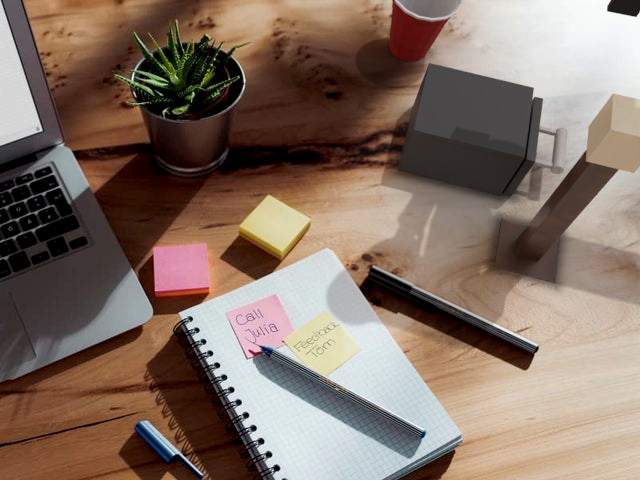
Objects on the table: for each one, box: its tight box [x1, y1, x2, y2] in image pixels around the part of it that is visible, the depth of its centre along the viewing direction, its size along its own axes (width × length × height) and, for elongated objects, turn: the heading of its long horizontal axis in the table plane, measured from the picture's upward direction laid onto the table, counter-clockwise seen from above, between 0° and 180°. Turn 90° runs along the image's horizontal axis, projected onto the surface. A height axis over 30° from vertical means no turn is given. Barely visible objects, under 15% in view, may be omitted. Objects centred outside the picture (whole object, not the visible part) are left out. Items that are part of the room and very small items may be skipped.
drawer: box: [503, 96, 569, 197], centre depth 92 cm, size 18×11×8 cm, turn 73°
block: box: [586, 93, 640, 174], centre depth 68 cm, size 5×5×5 cm
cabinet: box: [397, 62, 535, 197], centre depth 93 cm, size 15×13×10 cm
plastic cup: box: [388, 0, 465, 63], centre depth 100 cm, size 11×11×12 cm
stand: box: [494, 149, 620, 284], centre depth 80 cm, size 8×8×22 cm
